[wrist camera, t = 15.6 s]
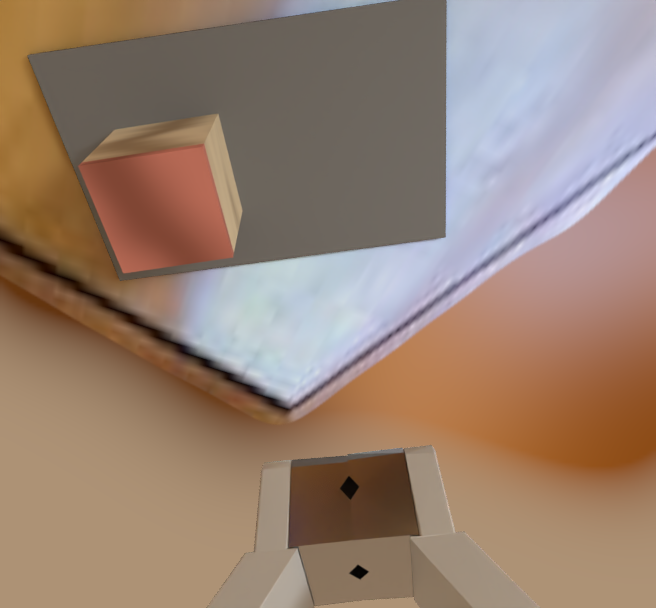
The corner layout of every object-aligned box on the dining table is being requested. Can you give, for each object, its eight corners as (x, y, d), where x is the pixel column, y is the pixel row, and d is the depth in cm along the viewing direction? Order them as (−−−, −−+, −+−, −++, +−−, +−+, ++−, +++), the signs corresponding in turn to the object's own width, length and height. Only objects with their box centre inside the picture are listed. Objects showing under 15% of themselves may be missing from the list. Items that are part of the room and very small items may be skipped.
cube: (78, 165, 25) (114, 129, 30) (123, 273, 28) (149, 224, 33) (202, 146, 25) (218, 113, 30) (233, 257, 28) (242, 210, 33)
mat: (444, -7, 27) (446, -6, 27) (444, 234, 35) (445, 237, 35) (30, 54, 28) (27, 55, 27) (121, 277, 36) (119, 280, 35)
